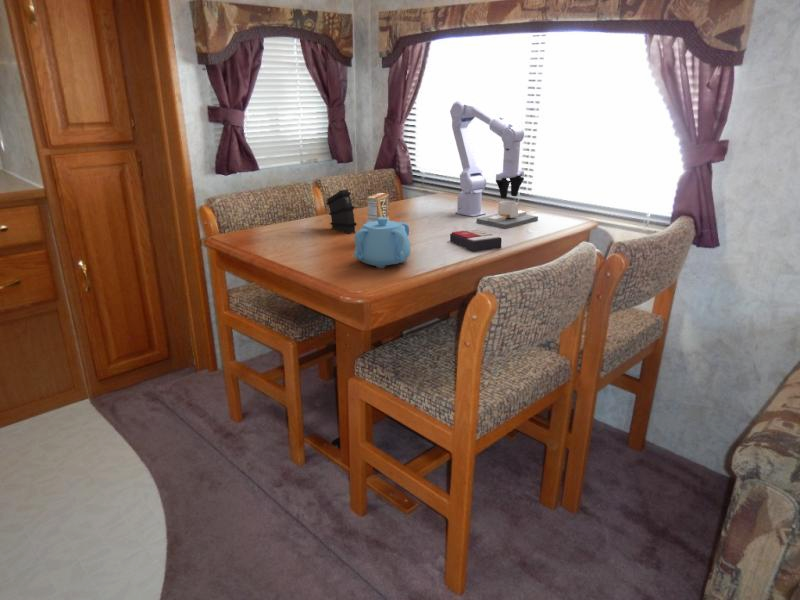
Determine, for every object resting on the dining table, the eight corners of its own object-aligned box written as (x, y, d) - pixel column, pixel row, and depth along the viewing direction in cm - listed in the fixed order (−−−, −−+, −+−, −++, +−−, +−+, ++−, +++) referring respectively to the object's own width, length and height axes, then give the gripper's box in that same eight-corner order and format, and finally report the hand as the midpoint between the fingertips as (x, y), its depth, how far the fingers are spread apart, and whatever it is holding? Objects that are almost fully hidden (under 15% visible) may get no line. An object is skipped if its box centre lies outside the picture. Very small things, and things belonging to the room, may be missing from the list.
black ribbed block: (352, 231, 199) (340, 190, 199) (334, 240, 210) (323, 201, 210) (361, 229, 201) (349, 188, 201) (343, 238, 212) (331, 200, 212)
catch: (499, 216, 218) (499, 213, 217) (509, 214, 222) (509, 211, 221) (505, 218, 216) (506, 215, 215) (515, 215, 219) (515, 212, 219)
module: (497, 215, 219) (498, 202, 218) (504, 213, 222) (505, 200, 220) (511, 217, 215) (512, 204, 213) (517, 216, 217) (518, 203, 216)
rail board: (476, 222, 218) (476, 215, 217) (508, 214, 230) (509, 208, 229) (505, 228, 208) (506, 221, 207) (537, 220, 221) (538, 213, 220)
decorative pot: (366, 253, 179) (364, 210, 175) (415, 256, 176) (415, 213, 171) (348, 268, 165) (346, 222, 160) (402, 272, 161) (401, 225, 156)
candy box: (378, 236, 199) (378, 192, 194) (389, 237, 198) (389, 193, 192) (367, 242, 192) (366, 196, 186) (378, 243, 190) (378, 197, 185)
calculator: (477, 228, 196) (502, 235, 183) (477, 240, 197) (501, 248, 184) (449, 231, 192) (472, 239, 179) (449, 243, 193) (472, 252, 180)
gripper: (507, 163, 204) (505, 201, 209) (531, 159, 213) (528, 196, 218) (492, 161, 209) (490, 198, 214) (516, 158, 218) (514, 193, 223)
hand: (508, 197), depth 216 cm, fingers open, 6 cm apart
